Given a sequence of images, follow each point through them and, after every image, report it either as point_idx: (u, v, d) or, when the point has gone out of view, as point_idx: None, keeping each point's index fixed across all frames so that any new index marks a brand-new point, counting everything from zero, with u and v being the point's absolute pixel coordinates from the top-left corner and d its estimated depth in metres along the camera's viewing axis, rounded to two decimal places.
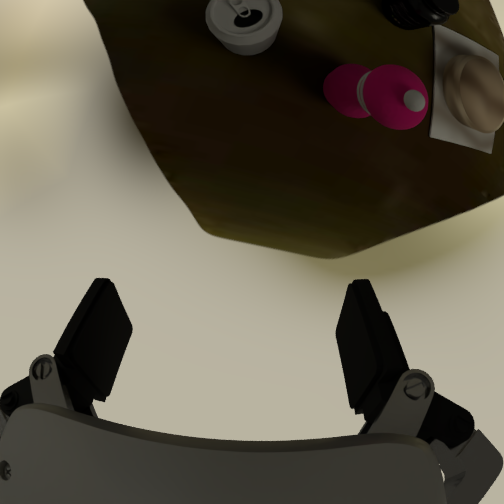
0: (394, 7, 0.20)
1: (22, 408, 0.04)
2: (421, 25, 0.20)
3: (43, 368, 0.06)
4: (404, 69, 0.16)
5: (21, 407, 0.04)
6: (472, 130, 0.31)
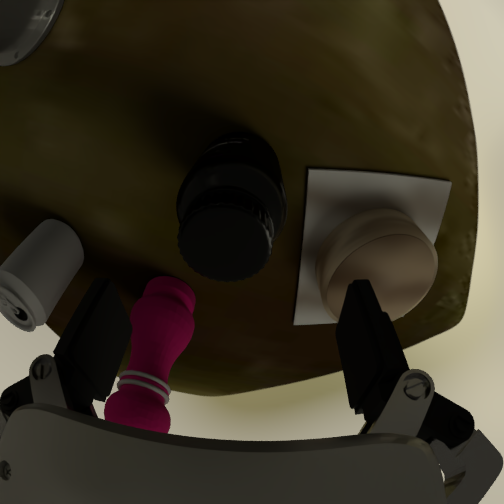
0: None
1: (22, 408, 0.04)
2: None
3: (43, 368, 0.06)
4: (122, 420, 0.16)
5: (21, 407, 0.04)
6: None
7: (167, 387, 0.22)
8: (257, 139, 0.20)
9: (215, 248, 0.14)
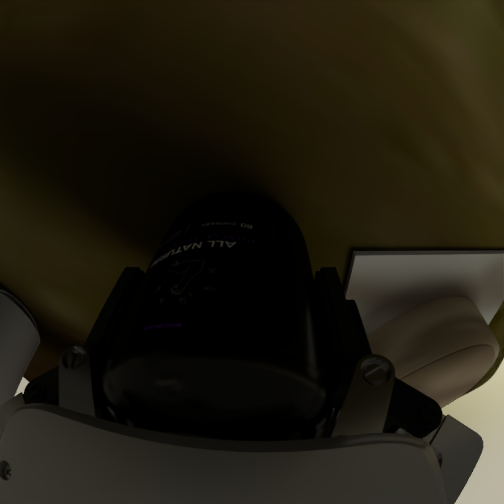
0: None
1: (22, 408, 0.04)
2: None
3: (74, 357, 0.07)
4: None
5: (21, 407, 0.04)
6: None
7: None
8: (270, 216, 0.10)
9: None
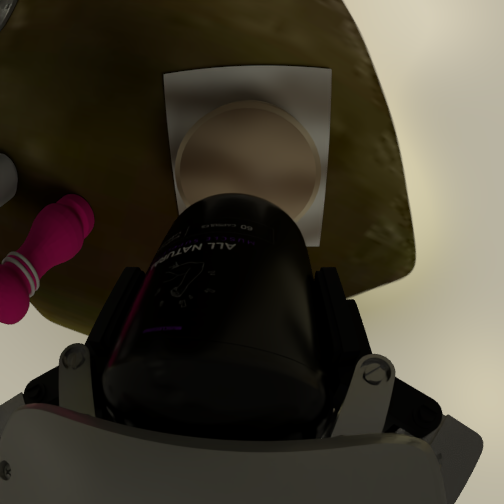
0: None
1: (22, 408, 0.04)
2: None
3: (74, 357, 0.07)
4: None
5: (21, 407, 0.04)
6: None
7: (33, 270, 0.20)
8: (270, 217, 0.10)
9: None
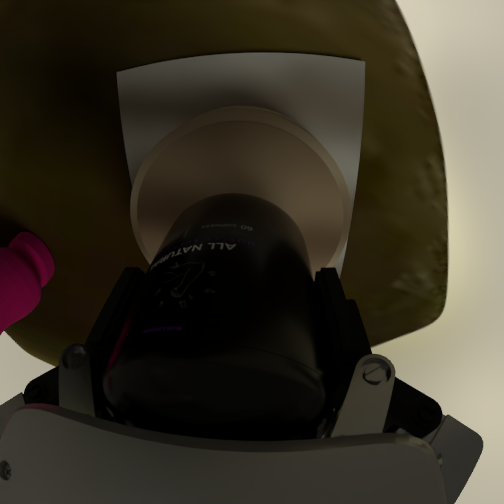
0: None
1: (22, 408, 0.04)
2: None
3: (74, 357, 0.07)
4: None
5: (21, 407, 0.04)
6: None
7: None
8: (270, 217, 0.10)
9: None
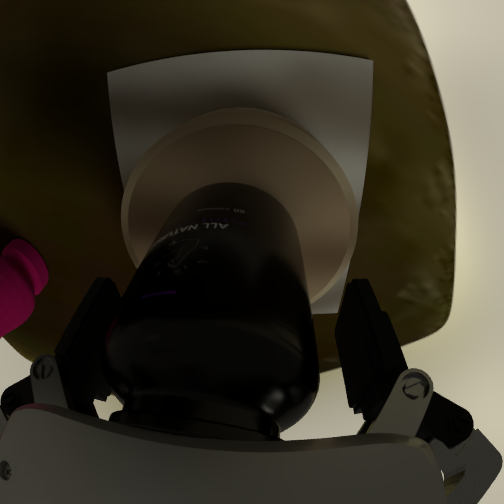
0: None
1: (22, 408, 0.04)
2: None
3: (44, 368, 0.06)
4: None
5: (21, 407, 0.04)
6: None
7: None
8: (262, 203, 0.11)
9: None
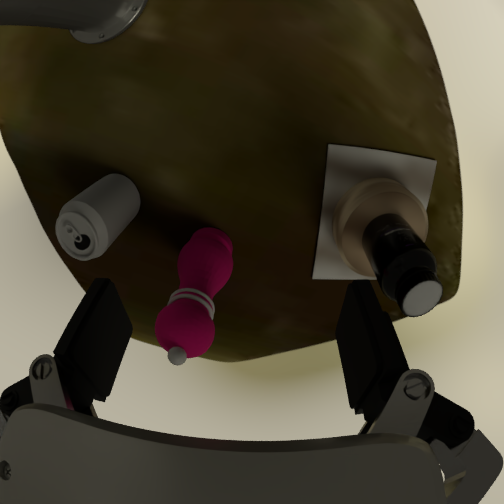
0: (370, 263, 0.29)
1: (22, 408, 0.04)
2: None
3: (43, 368, 0.06)
4: (176, 322, 0.23)
5: (21, 407, 0.04)
6: None
7: (213, 305, 0.29)
8: (407, 222, 0.28)
9: (418, 300, 0.22)
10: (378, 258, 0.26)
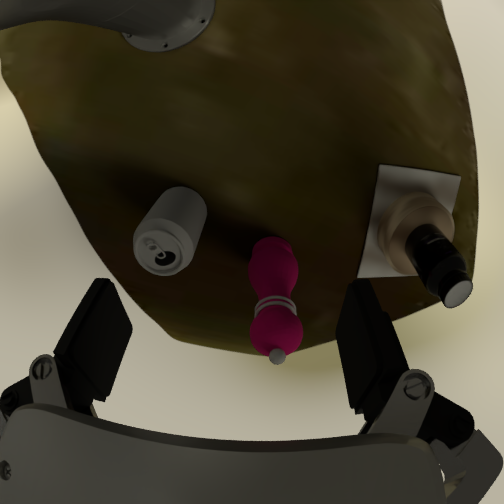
0: (414, 265, 0.33)
1: (22, 408, 0.04)
2: None
3: (43, 368, 0.06)
4: (277, 327, 0.28)
5: (21, 407, 0.04)
6: None
7: (295, 309, 0.33)
8: (441, 231, 0.32)
9: (456, 295, 0.26)
10: (423, 263, 0.30)
